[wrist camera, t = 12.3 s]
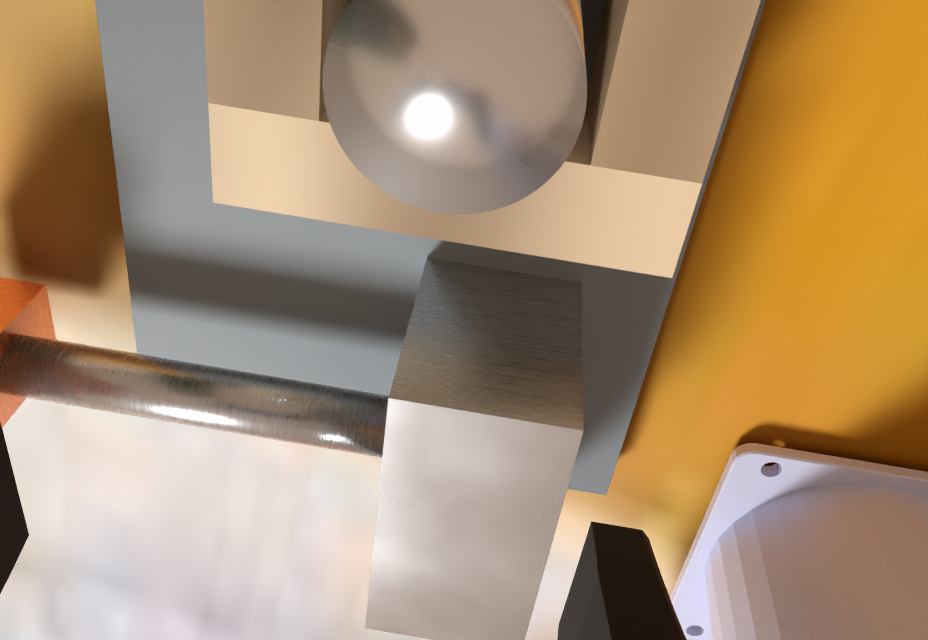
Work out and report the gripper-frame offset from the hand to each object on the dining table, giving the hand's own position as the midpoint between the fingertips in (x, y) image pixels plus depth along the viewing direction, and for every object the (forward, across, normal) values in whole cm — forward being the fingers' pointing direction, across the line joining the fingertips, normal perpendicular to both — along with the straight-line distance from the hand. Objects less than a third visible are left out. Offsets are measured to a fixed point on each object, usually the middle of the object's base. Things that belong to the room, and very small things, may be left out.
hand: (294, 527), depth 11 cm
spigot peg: (+9, -1, -5) cm, 11 cm away
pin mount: (+9, -2, +5) cm, 11 cm away
